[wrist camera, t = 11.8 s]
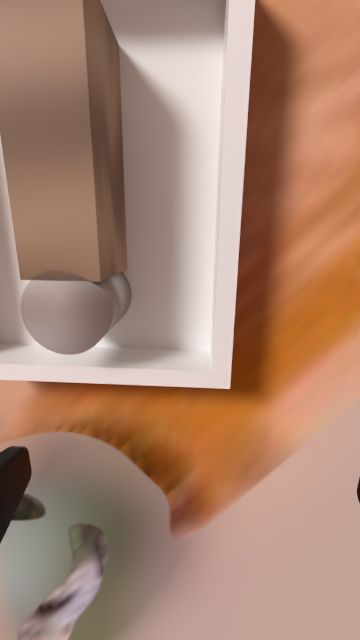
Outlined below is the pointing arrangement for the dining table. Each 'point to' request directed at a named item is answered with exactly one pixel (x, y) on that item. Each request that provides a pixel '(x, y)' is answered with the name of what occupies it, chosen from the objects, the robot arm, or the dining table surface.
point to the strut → (64, 168)
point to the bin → (162, 203)
